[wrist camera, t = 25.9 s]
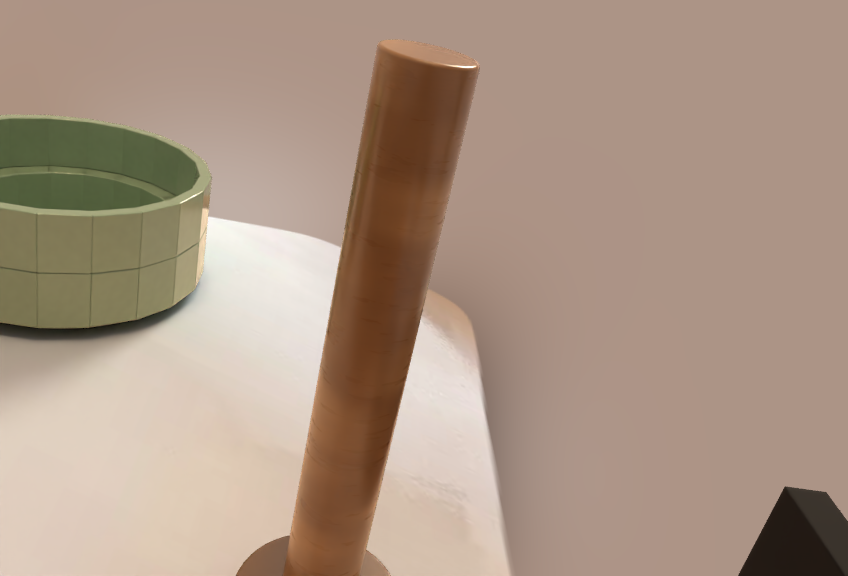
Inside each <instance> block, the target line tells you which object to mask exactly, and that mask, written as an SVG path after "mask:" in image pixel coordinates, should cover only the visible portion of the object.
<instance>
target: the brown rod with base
mask: <svg viewBox="0 0 848 576" xmlns="http://www.w3.org/2000/svg"><path fill="white" fill-rule="evenodd" d="M479 70H480V67H479V63H478V62H477V61H475V60H474V59H472V58H470V57H468V56H466V55H464V54H461V53H459V52H455V51H452V50H449V49H446V48H442V47H438V46H434V45H430V44H425V43H420V42H414V41H407V40H383V41H380V42H379V44H378V45H377V50H376V56H375V61H374V67H373V72H372V78H371V84H370V90H369V95H368V101H367V106H366V112H365V117H364V123H363V129H362V135H361V140H360V146H359V151H358V157H357V163H356V168H355V174H354V179H353V185H352V190H351V196H350V202H349V207H348V213H347V218H346V224H345V230H344V236H343V241H342V247H341V252H340V258H339V263H338V269H337V275H336V280H335V286H334V291H333V297H332V303H331V308H330V314H329V320H328V325H327V331H326V336H325V342H324V348H323V353H322V359H321V364H320V370H319V376H318V381H317V387H316V393H315V398H314V404H313V409H312V415H311V421H310V426H309V432H308V438H307V443H306V449H305V454H304V460H303V466H302V471H301V477H300V482H299V488H298V494H297V499H296V505H295V511H294V516H293V522H292V527H291V533H290V536H285V537H282V538H279V539H276V540H273V541H271V542H269V543H267V544H265V545H264V546H262V547H260V548H259V549H257V550H256V551H255V552H254V553H253V554H251V555H250V556H249V557H248V559H247V560H246V561H245V562H244V563H243V565H242V566H241V567H240V569H239V570H238V573H237V575H236V576H391V575H390V574H389V572H388V570H387V569H386V568H385V566H384V565H383V564H382V563H381V562H380V561H379V560H378V559H377V558H376V557H375V556H374V555H372V554H371V553H370V552H369V551H367V550H366V547H367V543H368V539H369V535H370V530H371V526H372V522H373V518H374V513H375V509H376V505H377V501H378V497H379V492H380V488H381V484H382V480H383V475H384V471H385V467H386V463H387V459H388V454H389V450H390V446H391V442H392V437H393V433H394V429H395V425H396V421H397V416H398V412H399V408H400V404H401V399H402V395H403V391H404V387H405V382H406V378H407V374H408V370H409V366H410V361H411V357H412V353H413V349H414V344H415V340H416V336H417V332H418V328H419V323H420V319H421V315H422V311H423V306H424V302H425V298H426V294H427V290H428V285H429V281H430V277H431V273H432V268H433V264H434V260H435V256H436V251H437V247H438V243H439V238H440V234H441V230H442V226H443V222H444V218H445V213H446V209H447V204H448V201H449V196H450V192H451V188H452V184H453V179H454V175H455V171H456V167H457V163H458V159H459V154H460V150H461V146H462V142H463V137H464V133H465V129H466V125H467V120H468V116H469V112H470V108H471V103H472V99H473V95H474V91H475V87H476V83H477V78H478V74H479Z"/></svg>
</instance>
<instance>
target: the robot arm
mask: <svg viewBox="0 0 848 576" xmlns="http://www.w3.org/2000/svg"><path fill="white" fill-rule="evenodd" d="M738 576H848V521H847V520H846V518H845V517H844V516H843V514H842V513H841V512H840V510H839V509H838V508H837V506H836V505H835V504H834V502H833V501H832V499H831V498H830V497H829V495H828V494H827V493H826V492H821V491H813V490H806V489H799V488H792V487H784V489H783V491H782V493H781V495H780V497H779V499H778V501H777V503H776V505H775V507H774V508H773V510H772V512H771V514H770V516H769V518H768V520H767V522H766V524H765V525H764V527H763V529H762V531H761V533H760V535H759V537H758V539H757V541H756V543H755V545H754V546H753V548H752V550H751V552H750V554H749V556H748V558H747V560H746V562H745V564H744V565H743V567H742V569H741V571H740V573H739V575H738Z"/></svg>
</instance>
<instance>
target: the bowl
mask: <svg viewBox="0 0 848 576" xmlns="http://www.w3.org/2000/svg"><path fill="white" fill-rule="evenodd" d="M211 180H212V177H211V174H210V171H209V169H208V166H207V163H206V162H205V161H204V160H203V159H202V158H200V157H199V156H198V155H197V154H195V153H194V152H193V151H192V150H190V149H189V148H187V147H185V146H183V145H180V144H178V143H176V142H174V141H172V140H170V139H168V138H166V137H163V136H161V135H157V134H154V133H151V132H147V131H144V130H140V129H137V128H133V127H130V126H126V125H120V124H115V123H109V122H104V121H99V120H93V119H86V118H76V117H65V116H53V115H0V323H7V324H13V325H19V326H26V327H34V328H51V329H75V328H89V327H97V326H104V325H111V324H115V323H120V322H127V321H133V320H138V319H141V318H144V317H146V316H149V315H152V314H154V313H157V312H160V311H163V310H165V309H168V308H171V307H172V306H174V305H175V304H177V303H178V302H179V301H181V300H182V299H183V298H185V297H186V296H187V295H189V294H190V293H191V292H193V291H194V290H195V288H196V286H197V284H198V282H199V279H200V277H201V275H202V273H203V265H204V254H205V244H206V233H207V223H208V211H209V201H210V191H211Z"/></svg>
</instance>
